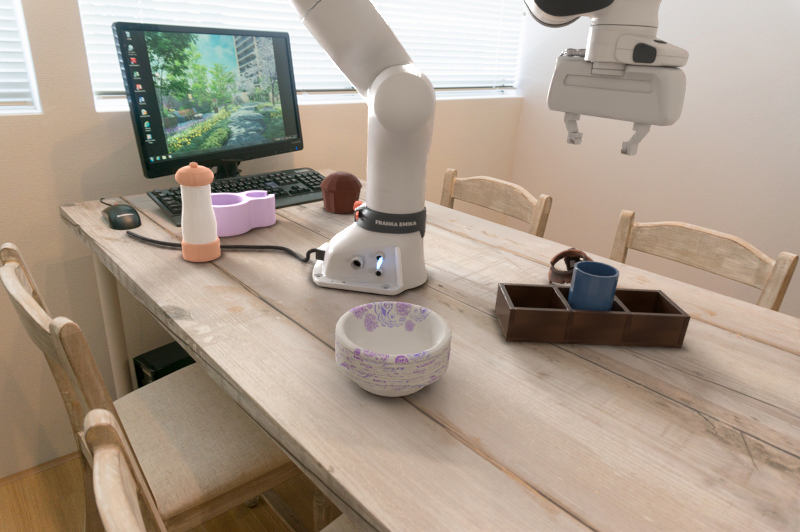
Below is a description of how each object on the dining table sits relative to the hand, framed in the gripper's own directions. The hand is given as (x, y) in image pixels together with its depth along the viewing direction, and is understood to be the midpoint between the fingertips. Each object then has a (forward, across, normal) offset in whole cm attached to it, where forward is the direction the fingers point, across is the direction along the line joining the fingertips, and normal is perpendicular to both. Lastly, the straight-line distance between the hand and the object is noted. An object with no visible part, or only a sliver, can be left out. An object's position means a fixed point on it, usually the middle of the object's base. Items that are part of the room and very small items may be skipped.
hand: (599, 149), depth 80 cm
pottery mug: (+29, -10, +14) cm, 34 cm away
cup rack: (+29, +4, 0) cm, 29 cm away
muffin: (+29, -75, 0) cm, 81 cm away
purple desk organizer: (+29, -74, -31) cm, 85 cm away
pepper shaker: (+29, -58, -43) cm, 78 cm away
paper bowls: (+29, -2, -36) cm, 46 cm away
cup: (+28, +3, 0) cm, 29 cm away
